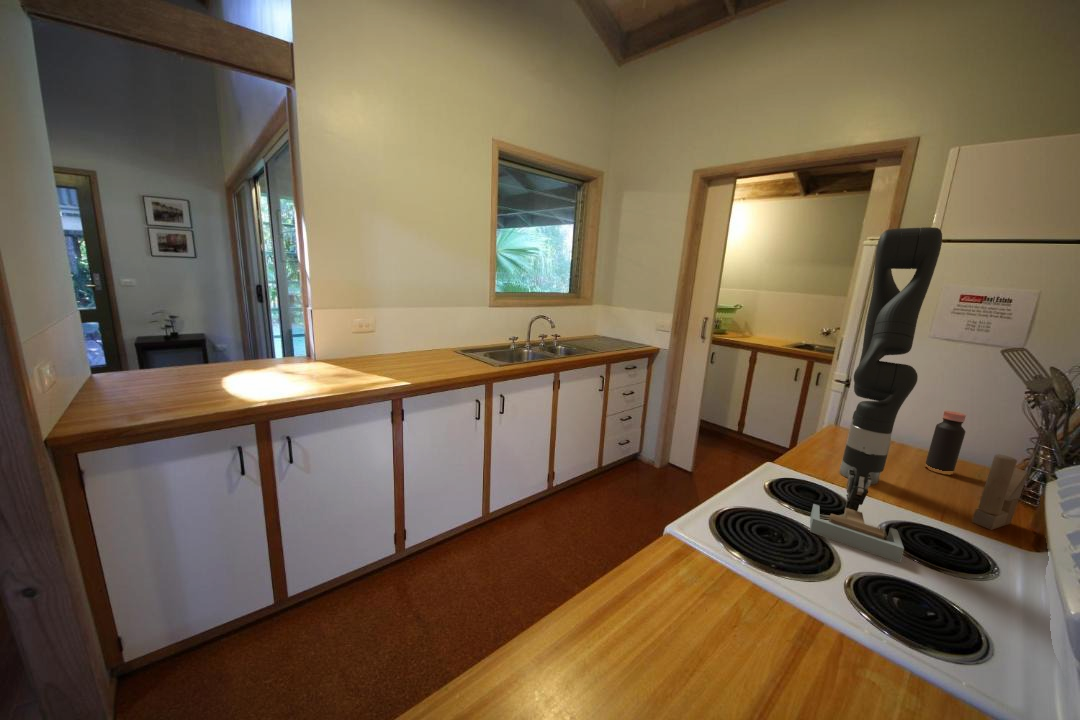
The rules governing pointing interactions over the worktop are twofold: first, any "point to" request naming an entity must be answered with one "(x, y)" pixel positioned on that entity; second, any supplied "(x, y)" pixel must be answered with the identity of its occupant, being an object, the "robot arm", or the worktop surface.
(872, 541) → the bracket
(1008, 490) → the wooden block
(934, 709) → the worktop surface
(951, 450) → the bottle
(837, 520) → the t block
